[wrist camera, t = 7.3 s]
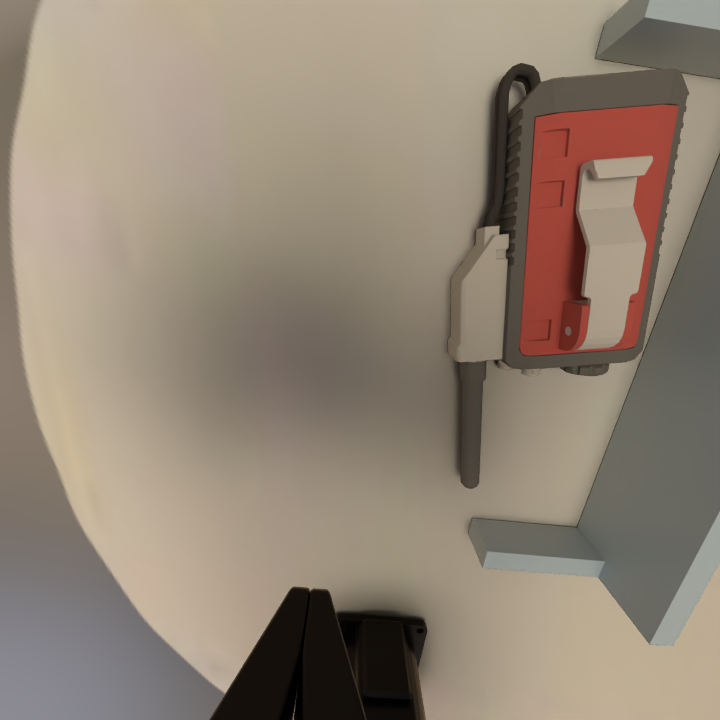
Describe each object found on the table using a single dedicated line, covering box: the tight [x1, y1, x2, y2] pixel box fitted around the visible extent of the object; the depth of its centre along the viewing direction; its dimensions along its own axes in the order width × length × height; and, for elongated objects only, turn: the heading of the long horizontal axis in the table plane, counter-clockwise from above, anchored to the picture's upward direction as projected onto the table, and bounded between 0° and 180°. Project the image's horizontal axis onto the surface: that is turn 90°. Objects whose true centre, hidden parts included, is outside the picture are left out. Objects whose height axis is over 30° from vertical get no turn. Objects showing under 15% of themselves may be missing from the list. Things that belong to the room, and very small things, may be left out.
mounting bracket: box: [468, 0, 720, 646], centre depth 14 cm, size 26×8×7 cm, turn 173°
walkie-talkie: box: [448, 63, 689, 489], centre depth 15 cm, size 9×4×20 cm
